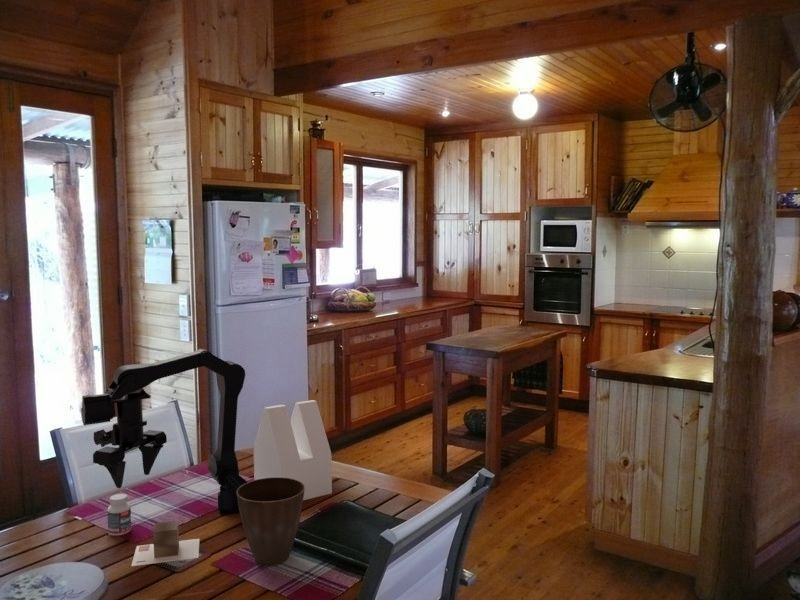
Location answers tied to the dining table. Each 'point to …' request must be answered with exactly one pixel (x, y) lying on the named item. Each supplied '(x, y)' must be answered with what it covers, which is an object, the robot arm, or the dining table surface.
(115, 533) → the pill bottle
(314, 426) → the white forked block
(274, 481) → the plant pot
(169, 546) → the walnut block
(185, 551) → the letter
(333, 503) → the dining table surface
